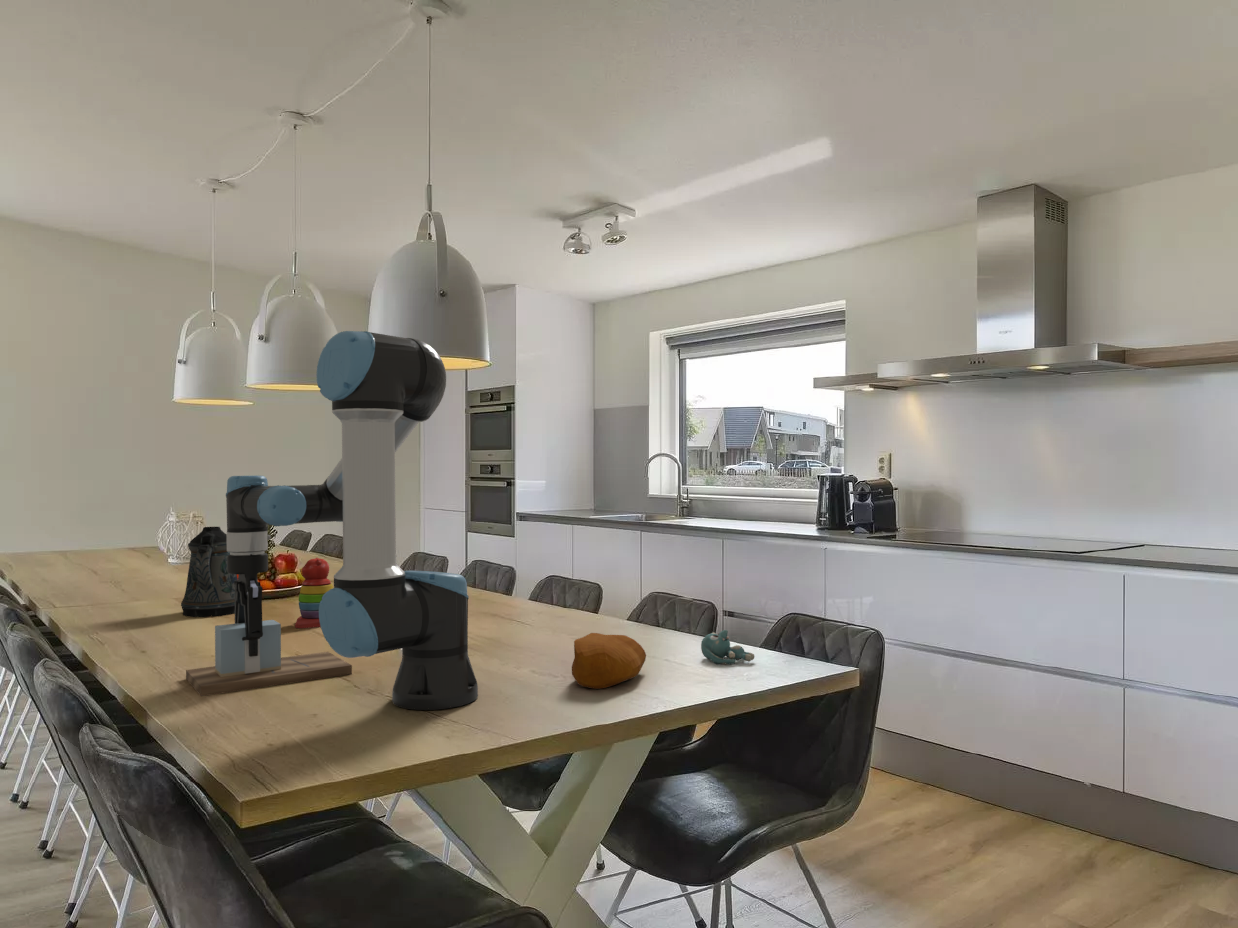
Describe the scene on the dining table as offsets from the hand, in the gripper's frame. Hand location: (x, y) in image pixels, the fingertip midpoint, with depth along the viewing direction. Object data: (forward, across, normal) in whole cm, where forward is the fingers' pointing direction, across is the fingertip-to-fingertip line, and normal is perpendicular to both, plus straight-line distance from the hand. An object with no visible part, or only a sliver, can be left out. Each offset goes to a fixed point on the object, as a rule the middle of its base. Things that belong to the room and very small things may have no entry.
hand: (248, 668), depth 170 cm
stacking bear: (+3, +53, -28) cm, 60 cm away
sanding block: (0, 0, 0) cm, 0 cm away
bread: (+3, -43, -58) cm, 72 cm away
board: (+2, 0, -4) cm, 5 cm away
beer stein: (+3, +89, -9) cm, 90 cm away
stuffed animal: (+3, -44, -87) cm, 98 cm away
